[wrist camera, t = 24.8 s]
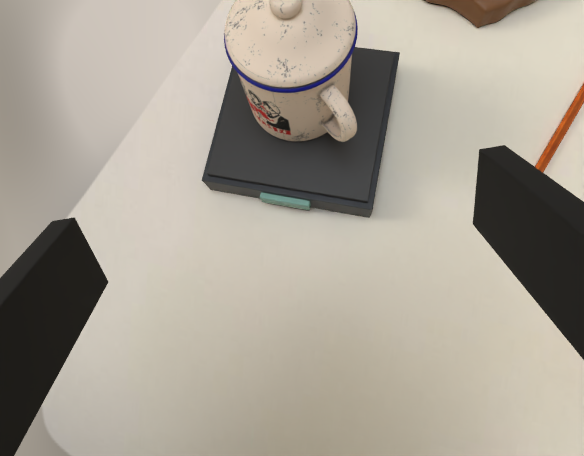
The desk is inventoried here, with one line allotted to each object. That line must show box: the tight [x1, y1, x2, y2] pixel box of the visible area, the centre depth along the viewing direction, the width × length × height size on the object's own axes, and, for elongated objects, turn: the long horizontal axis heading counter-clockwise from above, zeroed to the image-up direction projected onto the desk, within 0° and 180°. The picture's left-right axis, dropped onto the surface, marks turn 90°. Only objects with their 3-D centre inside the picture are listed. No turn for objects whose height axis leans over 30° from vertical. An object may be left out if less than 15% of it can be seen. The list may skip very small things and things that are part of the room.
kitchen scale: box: [202, 47, 400, 217], centre depth 37 cm, size 15×16×3 cm
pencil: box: [535, 84, 584, 173], centre depth 36 cm, size 1×18×1 cm, turn 147°
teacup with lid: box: [224, 0, 357, 142], centre depth 29 cm, size 12×9×12 cm
